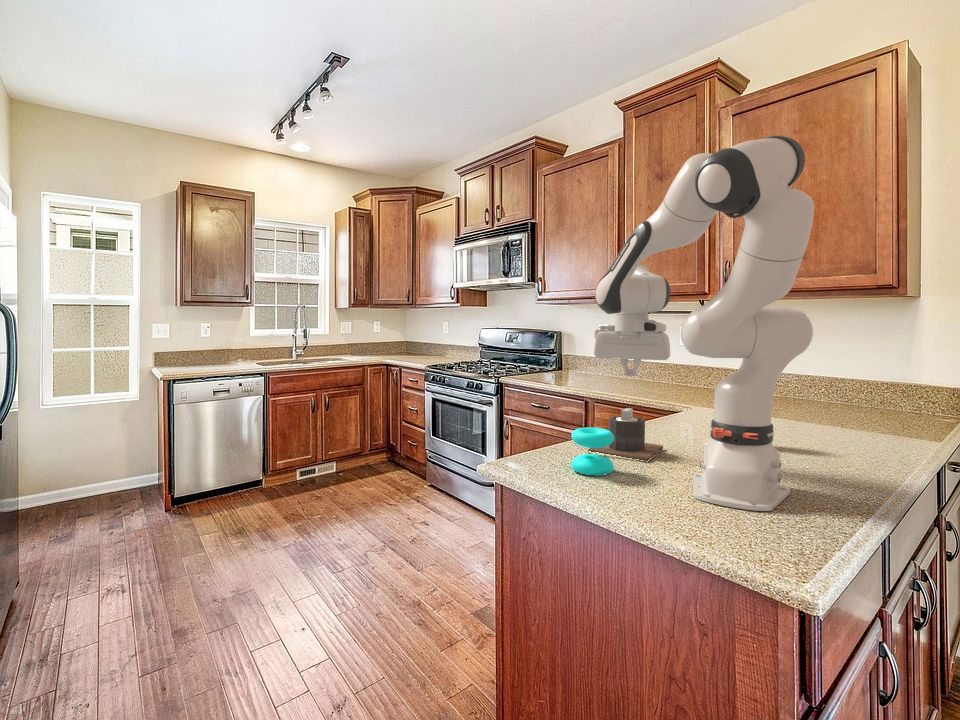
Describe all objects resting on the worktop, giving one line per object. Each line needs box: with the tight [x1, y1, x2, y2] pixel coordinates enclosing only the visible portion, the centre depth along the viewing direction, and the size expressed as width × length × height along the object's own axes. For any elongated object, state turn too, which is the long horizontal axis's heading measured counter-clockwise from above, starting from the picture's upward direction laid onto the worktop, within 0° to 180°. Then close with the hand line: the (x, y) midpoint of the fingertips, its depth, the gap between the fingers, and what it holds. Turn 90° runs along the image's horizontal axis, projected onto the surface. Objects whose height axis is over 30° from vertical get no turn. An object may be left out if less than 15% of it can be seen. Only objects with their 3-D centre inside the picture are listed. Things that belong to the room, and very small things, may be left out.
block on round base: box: [616, 407, 638, 422], centre depth 138 cm, size 6×6×5 cm
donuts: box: [570, 427, 614, 476], centre depth 120 cm, size 10×10×10 cm
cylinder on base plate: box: [587, 415, 664, 462], centre depth 138 cm, size 16×16×9 cm
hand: (630, 375), depth 137 cm, fingers closed
